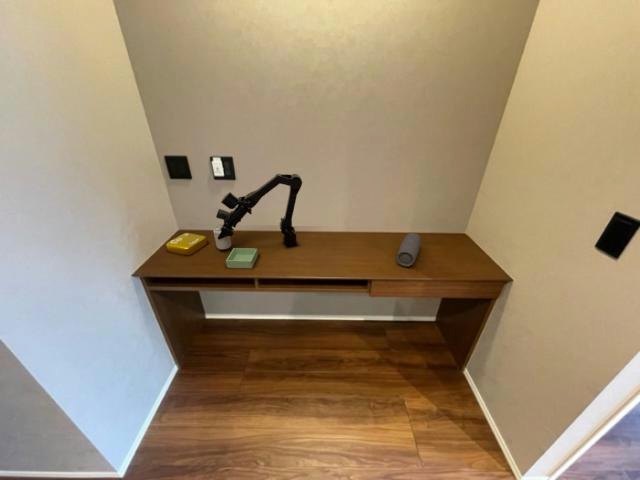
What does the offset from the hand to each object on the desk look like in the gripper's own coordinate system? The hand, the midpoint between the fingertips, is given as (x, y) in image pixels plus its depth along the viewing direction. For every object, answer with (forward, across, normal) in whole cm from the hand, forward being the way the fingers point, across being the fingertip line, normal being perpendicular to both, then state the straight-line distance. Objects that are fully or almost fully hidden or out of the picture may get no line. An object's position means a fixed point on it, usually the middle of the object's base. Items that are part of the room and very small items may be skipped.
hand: (219, 235), depth 138 cm
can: (+4, 0, +6) cm, 7 cm away
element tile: (+20, -6, -7) cm, 22 cm away
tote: (-2, +13, +15) cm, 20 cm away
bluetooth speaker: (-61, +24, +75) cm, 100 cm away
